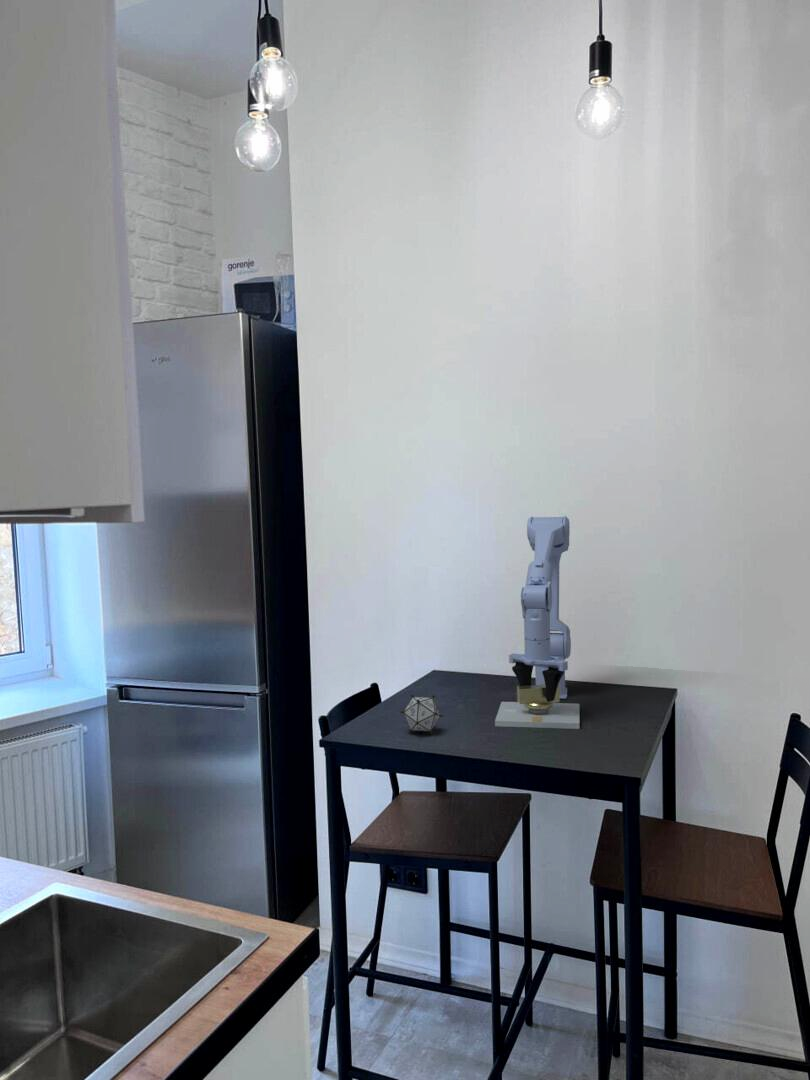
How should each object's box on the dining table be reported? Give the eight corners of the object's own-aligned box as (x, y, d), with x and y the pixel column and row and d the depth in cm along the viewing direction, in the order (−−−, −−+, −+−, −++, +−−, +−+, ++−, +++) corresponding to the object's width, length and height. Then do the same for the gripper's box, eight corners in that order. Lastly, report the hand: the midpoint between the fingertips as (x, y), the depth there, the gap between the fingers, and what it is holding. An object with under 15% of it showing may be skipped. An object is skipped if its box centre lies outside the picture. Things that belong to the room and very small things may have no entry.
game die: (429, 747, 182) (455, 708, 183) (420, 744, 174) (447, 704, 175) (397, 723, 185) (423, 685, 186) (386, 719, 177) (413, 680, 178)
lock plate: (501, 706, 199) (501, 696, 199) (579, 708, 195) (579, 698, 195) (495, 726, 183) (494, 715, 183) (579, 728, 179) (579, 717, 179)
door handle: (515, 702, 192) (515, 683, 191) (553, 700, 193) (553, 681, 192) (522, 710, 185) (521, 690, 185) (562, 708, 186) (561, 688, 186)
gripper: (500, 637, 190) (501, 696, 191) (554, 644, 180) (555, 707, 181) (519, 633, 195) (520, 690, 196) (572, 639, 185) (573, 700, 186)
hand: (538, 698), depth 189 cm, fingers closed on door handle, 6 cm apart
